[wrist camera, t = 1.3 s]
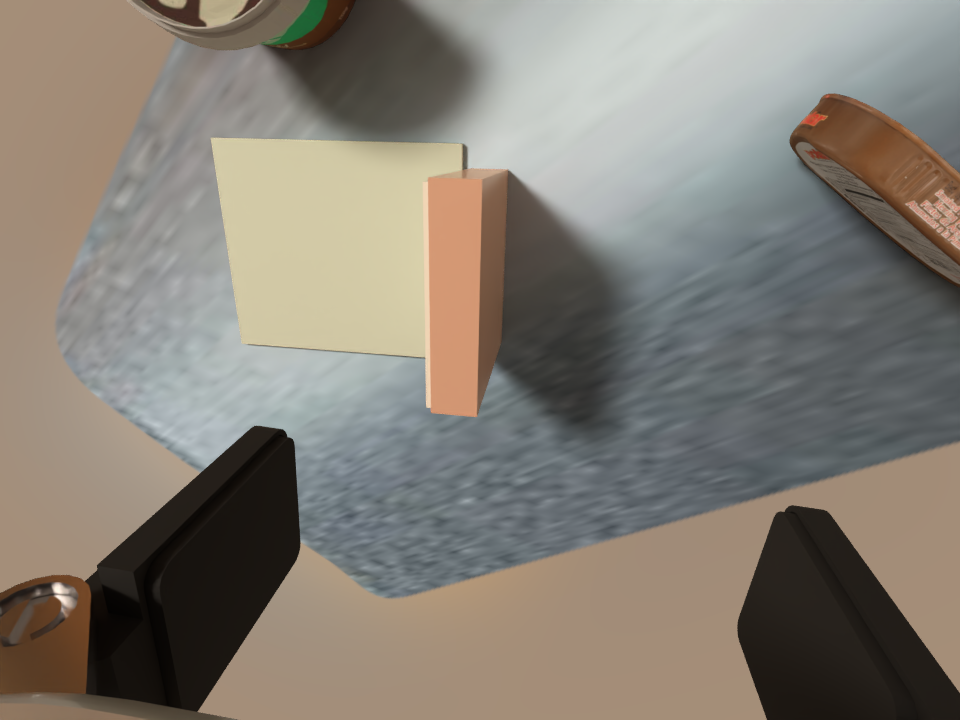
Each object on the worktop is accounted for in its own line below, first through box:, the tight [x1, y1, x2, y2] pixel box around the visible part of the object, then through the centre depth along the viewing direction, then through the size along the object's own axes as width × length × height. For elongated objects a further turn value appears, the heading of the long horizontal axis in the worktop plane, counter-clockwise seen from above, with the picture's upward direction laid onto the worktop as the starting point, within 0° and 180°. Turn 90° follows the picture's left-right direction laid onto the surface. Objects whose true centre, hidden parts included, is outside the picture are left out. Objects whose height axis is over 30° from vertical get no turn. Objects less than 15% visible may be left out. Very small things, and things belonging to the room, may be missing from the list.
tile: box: [423, 168, 508, 417], centre depth 32 cm, size 3×12×12 cm, turn 179°
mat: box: [211, 138, 463, 357], centre depth 39 cm, size 18×15×1 cm
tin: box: [790, 94, 960, 288], centre depth 29 cm, size 15×3×8 cm, turn 54°
